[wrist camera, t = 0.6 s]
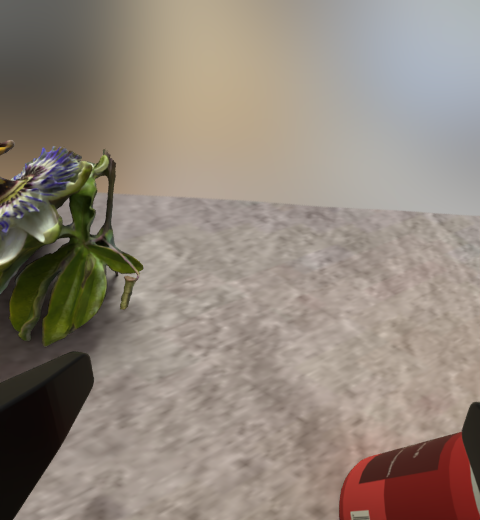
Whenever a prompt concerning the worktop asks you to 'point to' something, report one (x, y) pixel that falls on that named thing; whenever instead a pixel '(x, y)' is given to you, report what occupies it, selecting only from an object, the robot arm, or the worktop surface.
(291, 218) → the worktop surface
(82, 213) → the passion flower
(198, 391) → the worktop surface
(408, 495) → the canned food
